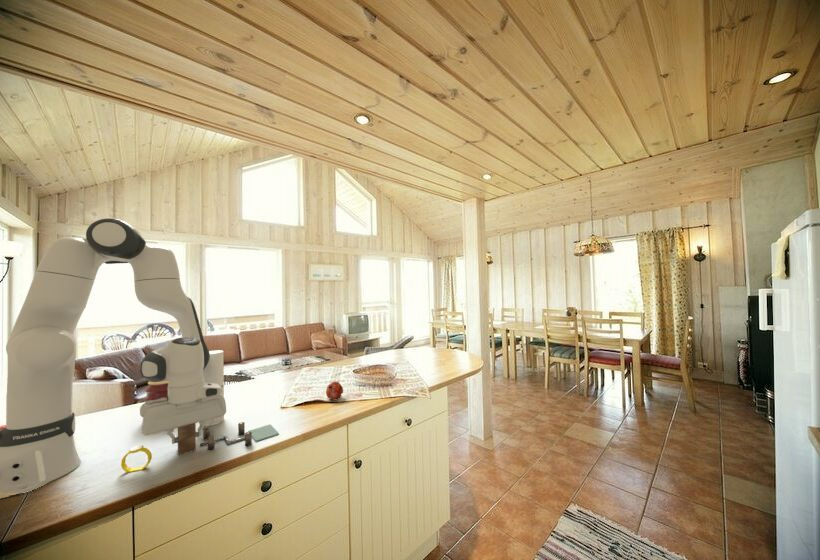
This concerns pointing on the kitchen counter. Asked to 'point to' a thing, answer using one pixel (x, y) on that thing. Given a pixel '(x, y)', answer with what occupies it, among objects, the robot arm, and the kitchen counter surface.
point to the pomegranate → (334, 390)
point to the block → (186, 438)
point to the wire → (225, 440)
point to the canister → (156, 390)
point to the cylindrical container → (215, 377)
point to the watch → (134, 450)
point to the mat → (263, 433)
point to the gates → (212, 438)
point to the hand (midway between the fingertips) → (186, 439)
